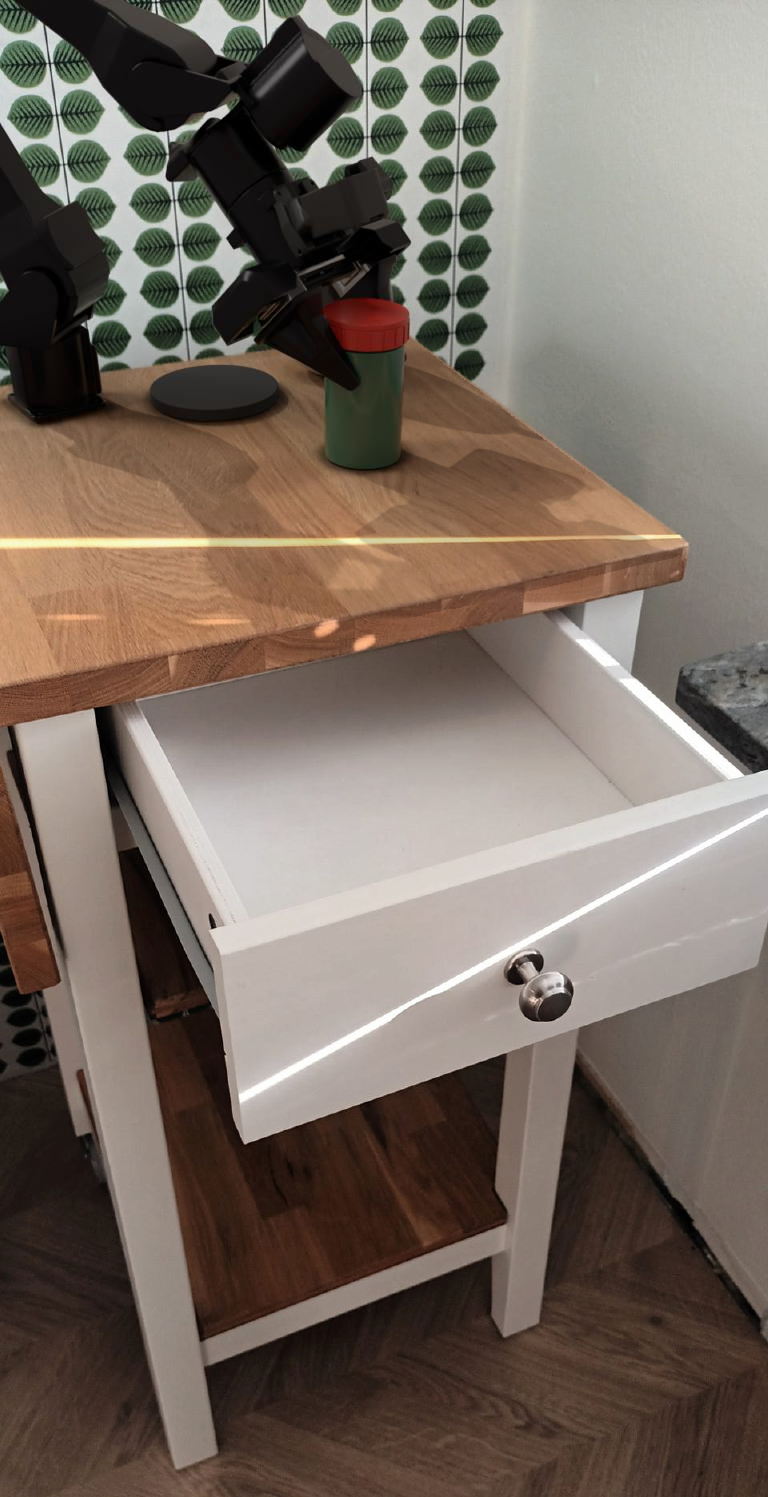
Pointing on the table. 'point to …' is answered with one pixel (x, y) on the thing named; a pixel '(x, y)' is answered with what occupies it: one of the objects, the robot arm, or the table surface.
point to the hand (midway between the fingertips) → (379, 375)
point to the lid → (368, 324)
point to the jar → (366, 412)
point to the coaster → (214, 392)
